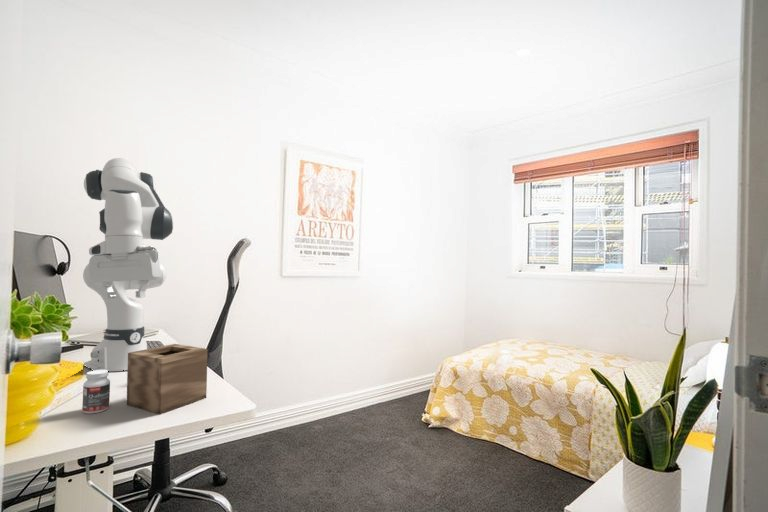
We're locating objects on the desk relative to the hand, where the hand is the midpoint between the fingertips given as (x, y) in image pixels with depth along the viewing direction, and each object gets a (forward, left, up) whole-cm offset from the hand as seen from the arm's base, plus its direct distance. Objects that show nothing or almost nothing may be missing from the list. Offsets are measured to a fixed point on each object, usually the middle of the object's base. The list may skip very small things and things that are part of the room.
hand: (125, 298), depth 110 cm
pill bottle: (-1, -6, -29) cm, 30 cm away
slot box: (+9, +7, -29) cm, 31 cm away
